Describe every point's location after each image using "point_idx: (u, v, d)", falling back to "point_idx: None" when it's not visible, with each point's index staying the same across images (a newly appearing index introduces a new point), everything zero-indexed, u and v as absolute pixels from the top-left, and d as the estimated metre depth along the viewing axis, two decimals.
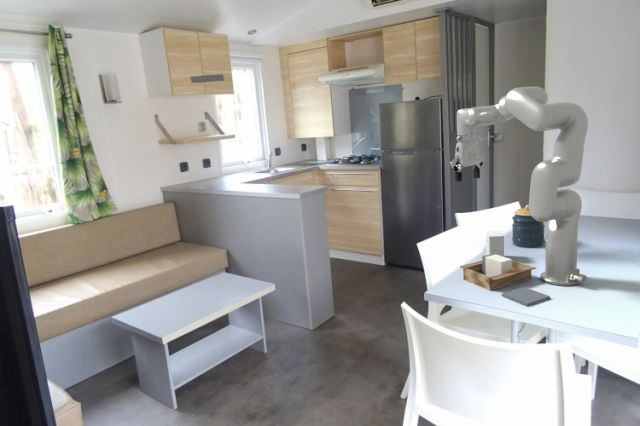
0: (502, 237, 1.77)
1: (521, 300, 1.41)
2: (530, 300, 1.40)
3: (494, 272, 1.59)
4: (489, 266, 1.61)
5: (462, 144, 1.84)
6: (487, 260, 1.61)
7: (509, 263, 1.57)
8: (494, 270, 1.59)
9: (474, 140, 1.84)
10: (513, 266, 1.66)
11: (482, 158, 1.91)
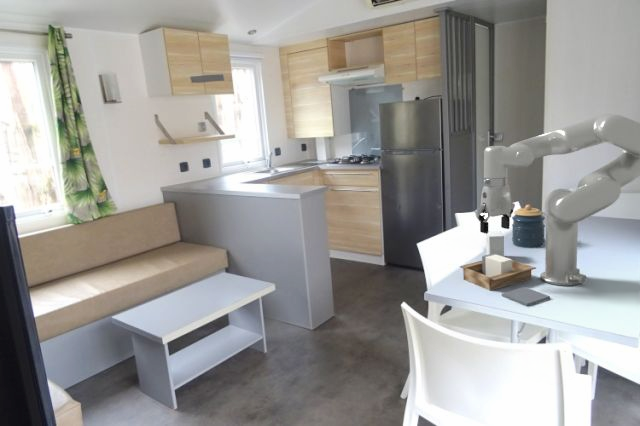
0: (502, 237, 1.77)
1: (521, 300, 1.41)
2: (530, 300, 1.40)
3: (494, 272, 1.59)
4: (489, 266, 1.61)
5: (490, 189, 1.52)
6: (487, 260, 1.61)
7: (509, 263, 1.57)
8: (494, 270, 1.59)
9: (505, 185, 1.52)
10: (513, 266, 1.66)
11: (512, 205, 1.59)
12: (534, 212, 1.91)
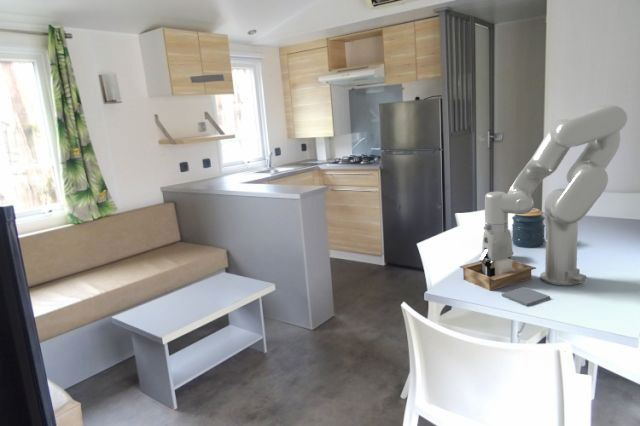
0: None
1: (521, 300, 1.41)
2: (530, 300, 1.40)
3: None
4: None
5: (491, 235, 1.55)
6: None
7: (509, 263, 1.57)
8: None
9: (506, 231, 1.55)
10: (513, 266, 1.66)
11: (511, 252, 1.62)
12: (534, 212, 1.91)
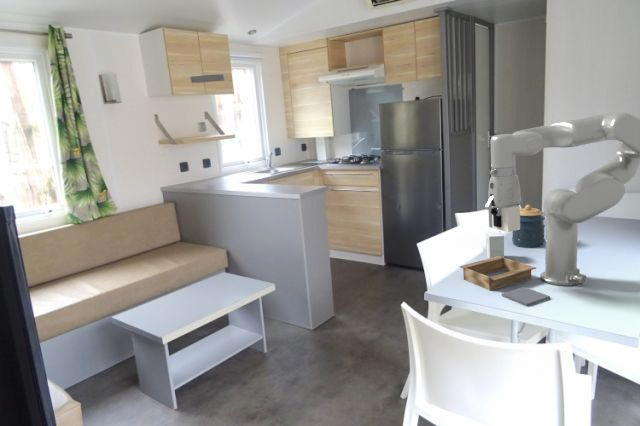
0: (502, 237, 1.77)
1: (521, 300, 1.41)
2: (530, 300, 1.40)
3: None
4: None
5: (497, 180, 1.46)
6: None
7: (516, 209, 1.48)
8: None
9: (513, 175, 1.46)
10: (513, 266, 1.66)
11: None
12: (534, 212, 1.91)
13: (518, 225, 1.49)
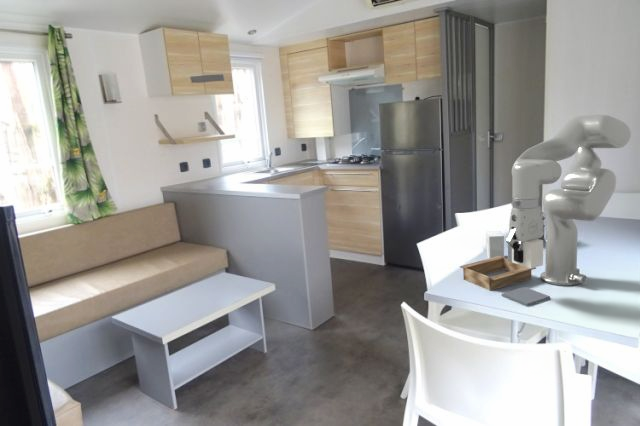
0: (502, 237, 1.77)
1: (521, 300, 1.41)
2: (530, 300, 1.40)
3: None
4: None
5: (521, 212, 1.35)
6: None
7: (539, 244, 1.37)
8: None
9: (537, 207, 1.36)
10: (513, 266, 1.66)
11: None
12: None
13: (541, 261, 1.38)
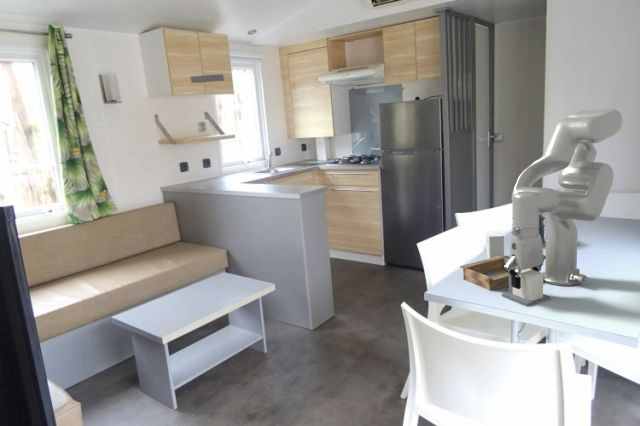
0: (502, 237, 1.77)
1: (521, 300, 1.41)
2: None
3: (523, 287, 1.42)
4: None
5: (521, 241, 1.37)
6: None
7: (540, 277, 1.40)
8: (522, 285, 1.42)
9: (537, 235, 1.37)
10: None
11: (543, 257, 1.44)
12: None
13: (541, 293, 1.41)
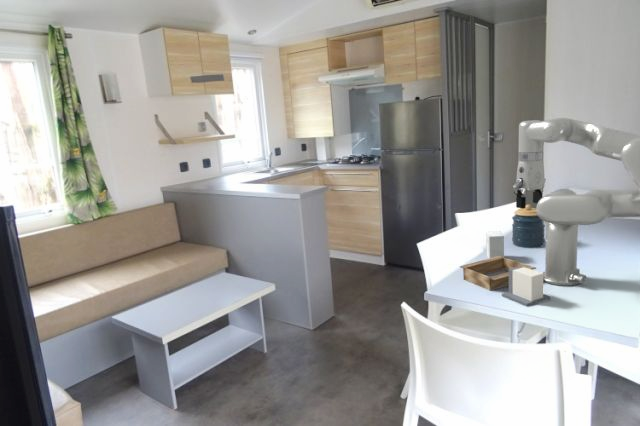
0: (502, 237, 1.77)
1: (521, 300, 1.41)
2: None
3: (523, 287, 1.42)
4: (517, 280, 1.43)
5: (528, 164, 1.52)
6: (515, 273, 1.44)
7: (540, 277, 1.40)
8: (522, 285, 1.42)
9: (541, 159, 1.53)
10: (513, 266, 1.66)
11: None
12: (534, 212, 1.91)
13: (541, 293, 1.41)
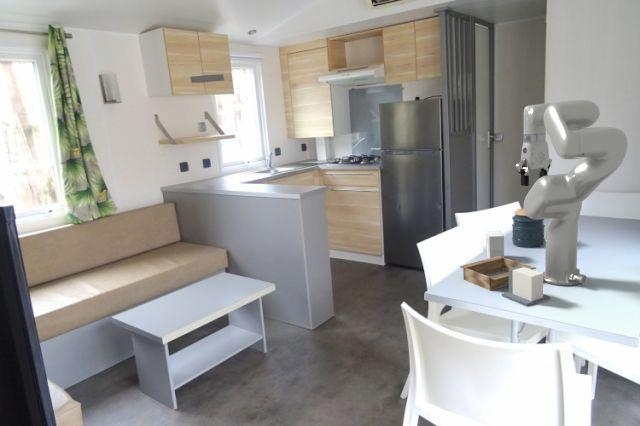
0: (502, 237, 1.77)
1: (521, 300, 1.41)
2: None
3: (523, 287, 1.42)
4: (517, 280, 1.43)
5: (530, 144, 1.65)
6: (515, 273, 1.44)
7: (540, 277, 1.40)
8: (522, 285, 1.42)
9: (544, 141, 1.66)
10: (513, 266, 1.66)
11: (550, 160, 1.73)
12: None
13: (541, 293, 1.41)
